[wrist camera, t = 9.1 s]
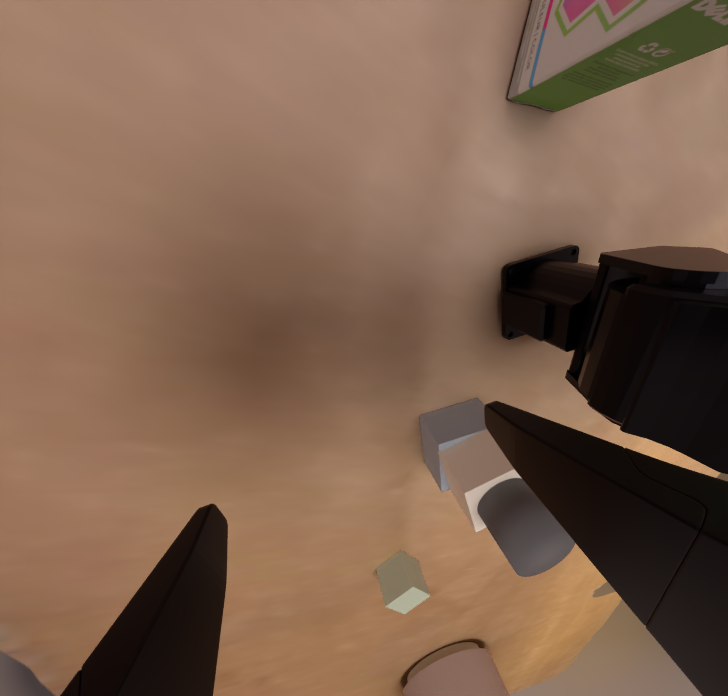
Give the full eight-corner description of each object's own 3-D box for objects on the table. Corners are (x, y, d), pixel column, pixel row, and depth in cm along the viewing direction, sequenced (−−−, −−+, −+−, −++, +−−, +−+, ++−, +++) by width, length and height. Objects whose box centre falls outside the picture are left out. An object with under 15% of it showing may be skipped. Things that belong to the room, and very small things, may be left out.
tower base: (476, 396, 28) (503, 423, 24) (475, 441, 30) (500, 471, 27) (418, 414, 27) (438, 444, 23) (423, 459, 29) (441, 492, 26)
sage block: (400, 549, 35) (413, 586, 32) (417, 559, 37) (430, 595, 33) (375, 567, 35) (385, 606, 32) (393, 576, 37) (404, 614, 34)
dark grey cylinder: (530, 469, 21) (579, 521, 17) (528, 506, 23) (572, 558, 19) (475, 492, 20) (515, 549, 17) (478, 526, 22) (514, 585, 19)
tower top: (495, 424, 24) (531, 460, 20) (502, 464, 26) (535, 502, 23) (437, 451, 24) (464, 493, 20) (450, 489, 26) (475, 532, 23)
